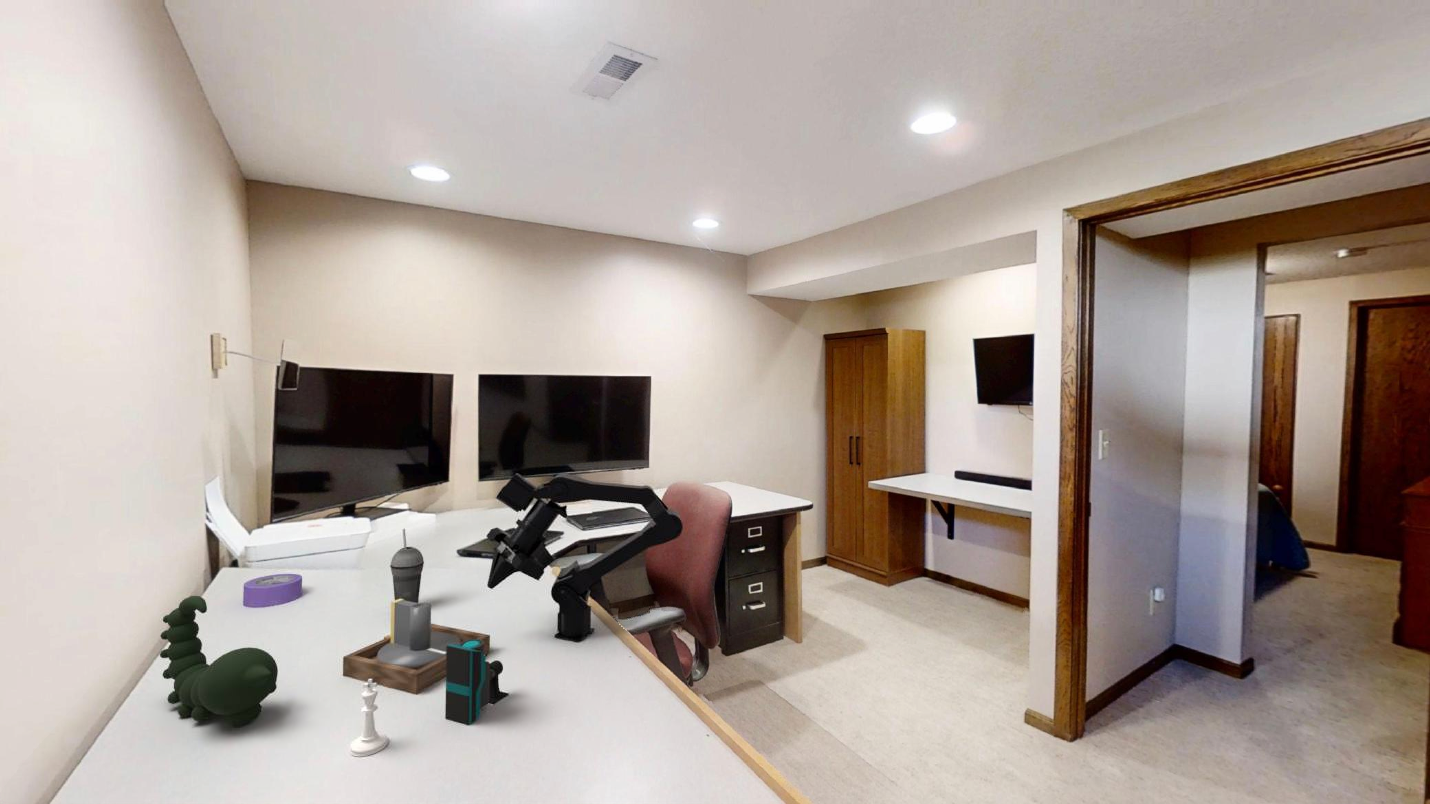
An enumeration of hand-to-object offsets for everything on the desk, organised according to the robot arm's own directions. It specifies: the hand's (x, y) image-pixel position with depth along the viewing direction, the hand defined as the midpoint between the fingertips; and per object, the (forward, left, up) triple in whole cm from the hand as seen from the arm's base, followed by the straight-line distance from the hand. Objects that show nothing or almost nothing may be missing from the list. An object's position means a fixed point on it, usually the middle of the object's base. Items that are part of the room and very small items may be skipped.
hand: (489, 587), depth 120 cm
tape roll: (+69, -1, -12) cm, 70 cm away
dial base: (+6, +12, -12) cm, 18 cm away
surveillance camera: (-16, +20, -12) cm, 28 cm away
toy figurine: (+21, +37, -12) cm, 45 cm away
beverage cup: (+31, -7, -12) cm, 34 cm away
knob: (+6, +12, -10) cm, 17 cm away
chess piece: (-9, +35, -12) cm, 38 cm away
